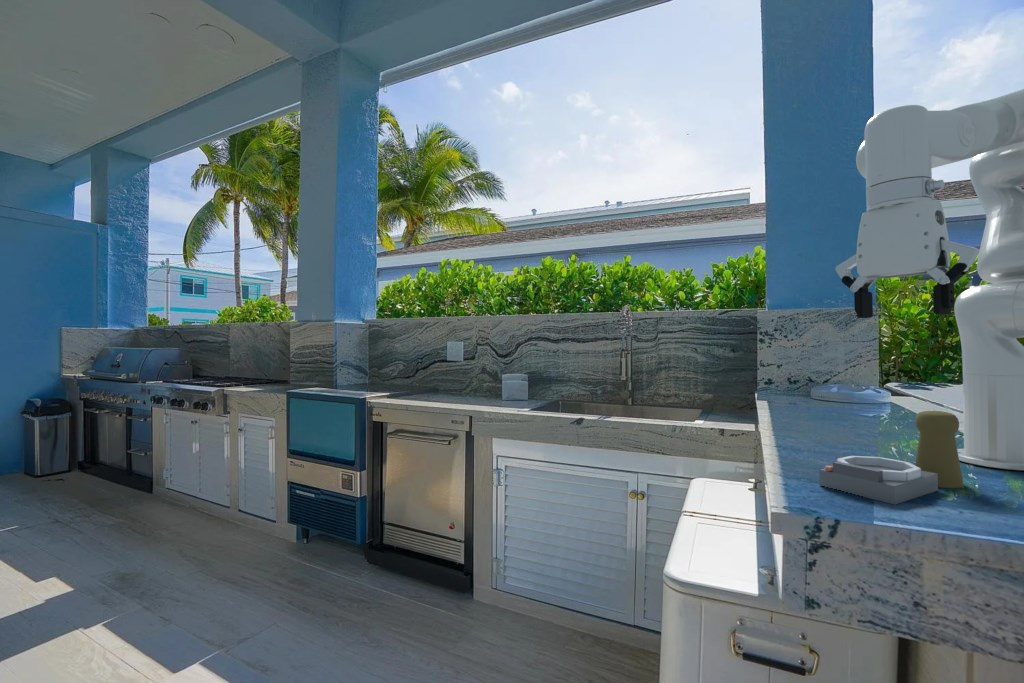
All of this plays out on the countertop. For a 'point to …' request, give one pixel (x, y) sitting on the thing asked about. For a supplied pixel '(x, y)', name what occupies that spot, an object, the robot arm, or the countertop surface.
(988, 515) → the countertop surface
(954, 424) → the cork
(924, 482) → the octagon ring plate
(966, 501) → the countertop surface
